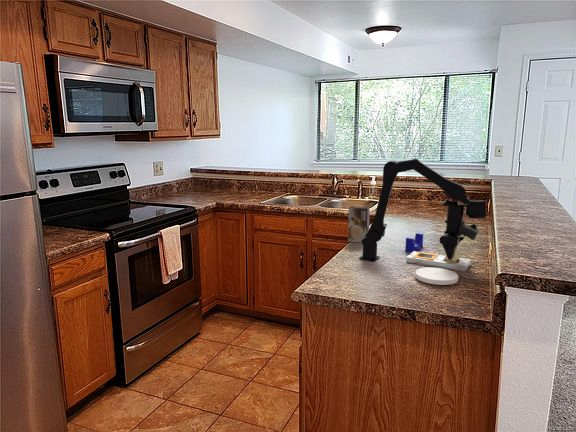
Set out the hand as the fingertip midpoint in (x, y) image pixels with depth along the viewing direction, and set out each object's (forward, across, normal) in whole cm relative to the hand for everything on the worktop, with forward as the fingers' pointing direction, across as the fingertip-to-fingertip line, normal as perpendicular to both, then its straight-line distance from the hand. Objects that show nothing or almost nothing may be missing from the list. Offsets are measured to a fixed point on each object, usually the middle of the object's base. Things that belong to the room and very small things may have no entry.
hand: (451, 257), depth 165 cm
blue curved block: (+4, +16, +18) cm, 24 cm away
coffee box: (+3, +17, +45) cm, 48 cm away
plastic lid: (+4, -20, +1) cm, 20 cm away
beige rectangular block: (+3, 0, 0) cm, 3 cm away
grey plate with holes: (+3, 0, +5) cm, 6 cm away
